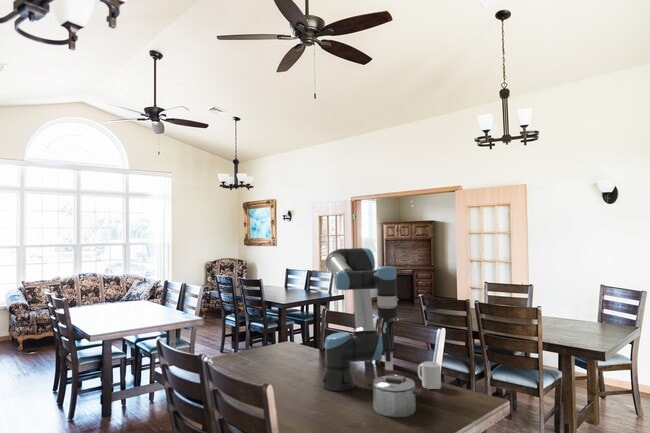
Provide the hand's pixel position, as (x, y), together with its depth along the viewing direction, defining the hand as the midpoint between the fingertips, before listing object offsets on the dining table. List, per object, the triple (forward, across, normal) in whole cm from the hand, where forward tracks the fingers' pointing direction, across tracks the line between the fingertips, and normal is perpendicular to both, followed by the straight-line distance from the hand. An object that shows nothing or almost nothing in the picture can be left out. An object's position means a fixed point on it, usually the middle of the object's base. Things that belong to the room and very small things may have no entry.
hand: (389, 369), depth 157 cm
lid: (+8, +8, 0) cm, 11 cm away
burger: (+18, +34, +6) cm, 39 cm away
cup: (+17, +38, -9) cm, 43 cm away
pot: (+17, +7, 0) cm, 19 cm away
